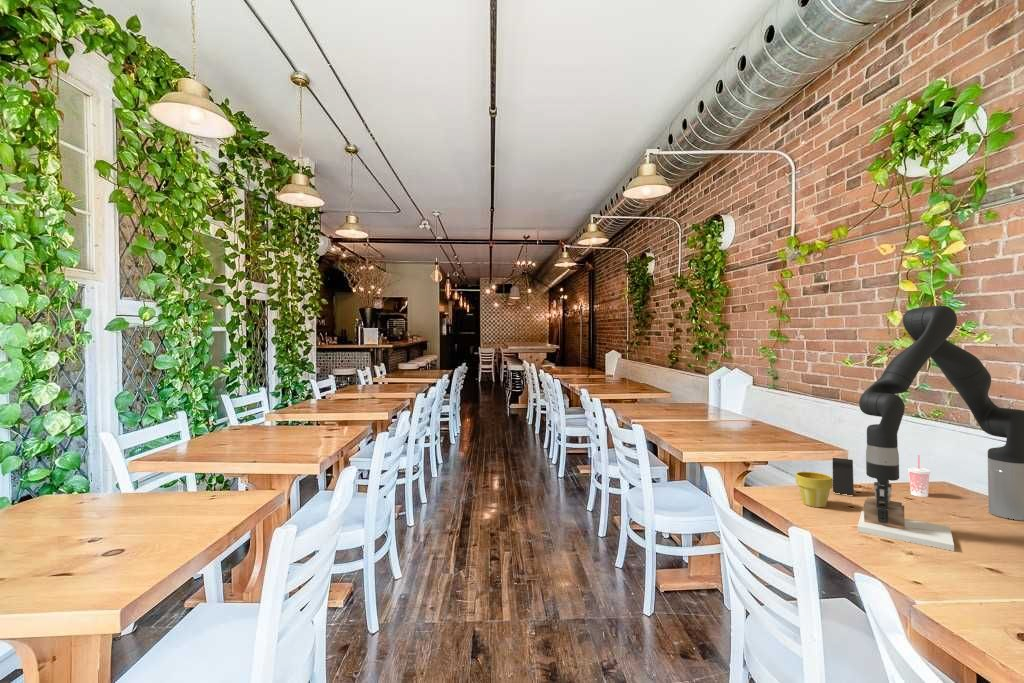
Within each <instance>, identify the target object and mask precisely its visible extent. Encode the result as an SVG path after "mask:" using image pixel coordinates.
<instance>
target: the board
mask: <svg viewBox="0 0 1024 683" xmlns="http://www.w3.org/2000/svg"><path fill="white" fill-rule="evenodd" d="M904 519H905V529H899V528H894V527H889V526H883V525H878V524H873V523H867V522H864V510H861V512H860V517H859V520H858V524H857V532H858V533H861V534H867V535H872V536H875V537H876V536H877V537H881V538H885V539H887V538H888V539H890V540H891V539H893V540H896V541H901V542H905V541H906V542H907V543H910V542H911V544H915V543H916V545H920V544H922V545H921V546H925V545H927V546H926V547H930V546H933V547H932V548H935V547H937V548H936V549H940V548H941V549H940V550H944V549H946V550H945V551H949V550H951V551H950V552H955V544H954V539H953V534H952V529H951V526H948V525H943V524H938V523H932V522H927V521H921V520H916V519H909V518H905V517H904Z"/></svg>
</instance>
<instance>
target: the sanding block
mask: <svg viewBox="0 0 1024 683" xmlns="http://www.w3.org/2000/svg"><path fill="white" fill-rule="evenodd" d="M863 502H864V503H863V511H864V522H867V523H873V524H878V525H883V526H889V527H894V528H899V529H905V519H906V518H905V505H903V503H902V502H900V501H894V500H890V502H889V503H888V507H889V509H888V523H881V522H879V521H878V509H877V507H876V505H877V500H876V499H875V497H868V496H866V498H865V499H864V501H863ZM879 504H881V505H886V503H885V502H882V501H880V502H879ZM904 518H905V519H904Z"/></svg>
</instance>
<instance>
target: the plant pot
mask: <svg viewBox="0 0 1024 683" xmlns="http://www.w3.org/2000/svg"><path fill="white" fill-rule="evenodd" d="M795 483H796V484H797V486H798V491H799V493H800V497H801V501H802V503H804V504H803V505H805V506H807V507H811V506H812V507H813V508H818V507H823V508H826V507H827V504H828V499H829V495H830V492H831V489H833V476H831V475H829V474H826V473H825V474H824V473H820V472H815V471H798V472H796V473H795Z"/></svg>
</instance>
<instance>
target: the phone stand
mask: <svg viewBox="0 0 1024 683" xmlns="http://www.w3.org/2000/svg"><path fill="white" fill-rule="evenodd" d="M832 479H833V486H832V493H833V492H835V493H840V494H847V495H854V496H855V494H854V493H855V490H854V487H855V486H854V461H853V459H851V458H849V459H848V458H839V457H832Z"/></svg>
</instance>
